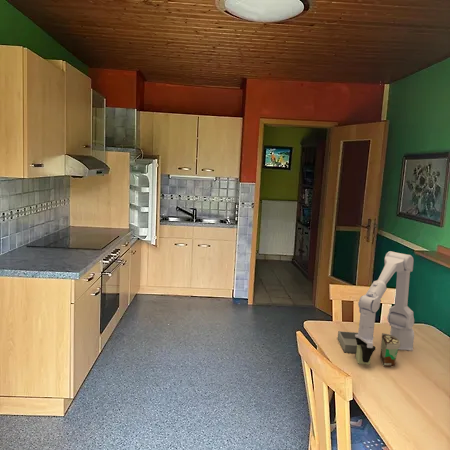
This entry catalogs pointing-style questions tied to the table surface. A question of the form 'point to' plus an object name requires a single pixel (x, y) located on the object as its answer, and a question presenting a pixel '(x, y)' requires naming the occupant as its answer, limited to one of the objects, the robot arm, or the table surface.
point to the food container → (389, 349)
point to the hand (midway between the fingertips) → (363, 357)
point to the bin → (348, 341)
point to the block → (360, 356)
